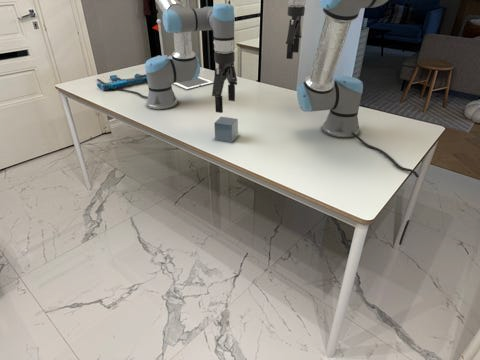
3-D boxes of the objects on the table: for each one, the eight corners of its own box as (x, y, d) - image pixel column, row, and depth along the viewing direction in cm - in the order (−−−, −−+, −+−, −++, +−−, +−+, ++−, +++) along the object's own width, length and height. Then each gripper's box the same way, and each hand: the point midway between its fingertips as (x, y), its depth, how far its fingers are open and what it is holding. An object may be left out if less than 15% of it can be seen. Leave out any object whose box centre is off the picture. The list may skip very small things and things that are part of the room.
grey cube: (237, 135, 146) (237, 118, 142) (232, 142, 140) (231, 125, 136) (221, 133, 148) (220, 116, 144) (215, 139, 143) (214, 122, 138)
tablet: (159, 77, 217) (158, 76, 217) (185, 71, 228) (185, 71, 228) (186, 89, 197) (186, 89, 197) (214, 82, 208) (214, 82, 208)
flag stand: (171, 61, 250) (166, 17, 234) (175, 66, 240) (170, 19, 224) (153, 63, 246) (147, 18, 230) (156, 68, 236) (150, 21, 220)
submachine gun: (141, 68, 225) (159, 74, 208) (142, 74, 227) (160, 80, 210) (89, 78, 206) (104, 86, 190) (91, 84, 208) (106, 92, 192)
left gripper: (227, 43, 136) (228, 95, 148) (200, 58, 116) (204, 116, 128) (244, 45, 134) (244, 97, 145) (220, 60, 114) (222, 118, 126)
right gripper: (294, 2, 162) (290, 49, 174) (281, 8, 142) (278, 60, 154) (309, 3, 160) (305, 50, 171) (299, 9, 140) (294, 62, 152)
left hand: (225, 106), depth 137 cm, fingers open, 13 cm apart
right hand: (292, 55), depth 163 cm, fingers open, 13 cm apart
